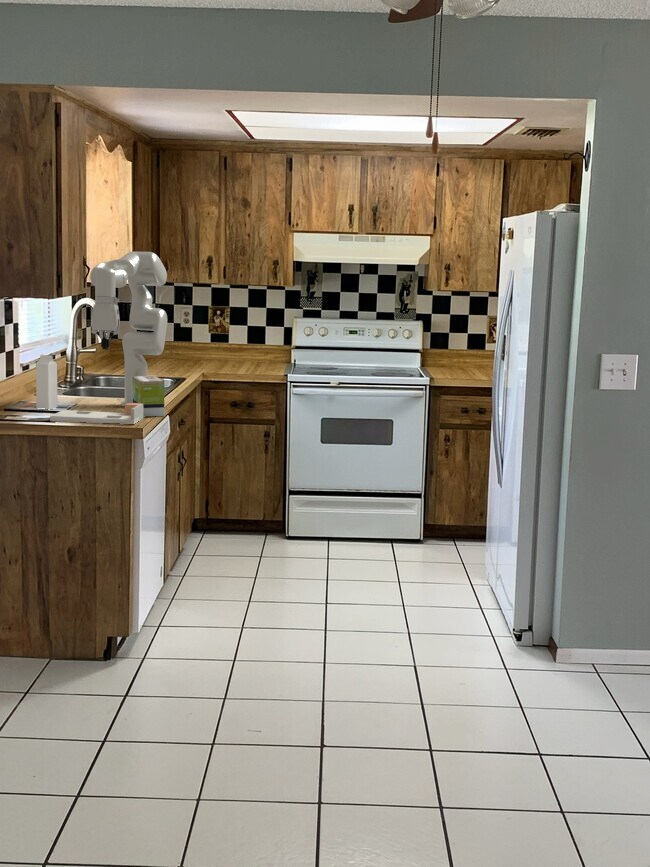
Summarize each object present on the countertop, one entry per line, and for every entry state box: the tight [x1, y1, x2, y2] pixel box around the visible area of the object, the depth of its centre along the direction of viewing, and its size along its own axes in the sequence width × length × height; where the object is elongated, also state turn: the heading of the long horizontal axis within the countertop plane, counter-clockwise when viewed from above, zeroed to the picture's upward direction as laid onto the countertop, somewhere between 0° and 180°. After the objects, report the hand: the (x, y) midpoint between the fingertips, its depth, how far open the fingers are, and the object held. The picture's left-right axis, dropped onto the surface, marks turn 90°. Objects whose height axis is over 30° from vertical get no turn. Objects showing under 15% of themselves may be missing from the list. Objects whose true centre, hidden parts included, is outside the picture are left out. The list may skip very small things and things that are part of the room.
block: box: [124, 403, 141, 415], centre depth 371 cm, size 5×5×4 cm
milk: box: [35, 354, 59, 409], centre depth 387 cm, size 6×6×22 cm
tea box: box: [132, 375, 165, 418], centre depth 385 cm, size 15×10×15 cm
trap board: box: [49, 404, 144, 425], centre depth 366 cm, size 15×32×6 cm, turn 87°
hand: (105, 349), depth 366 cm, fingers closed
